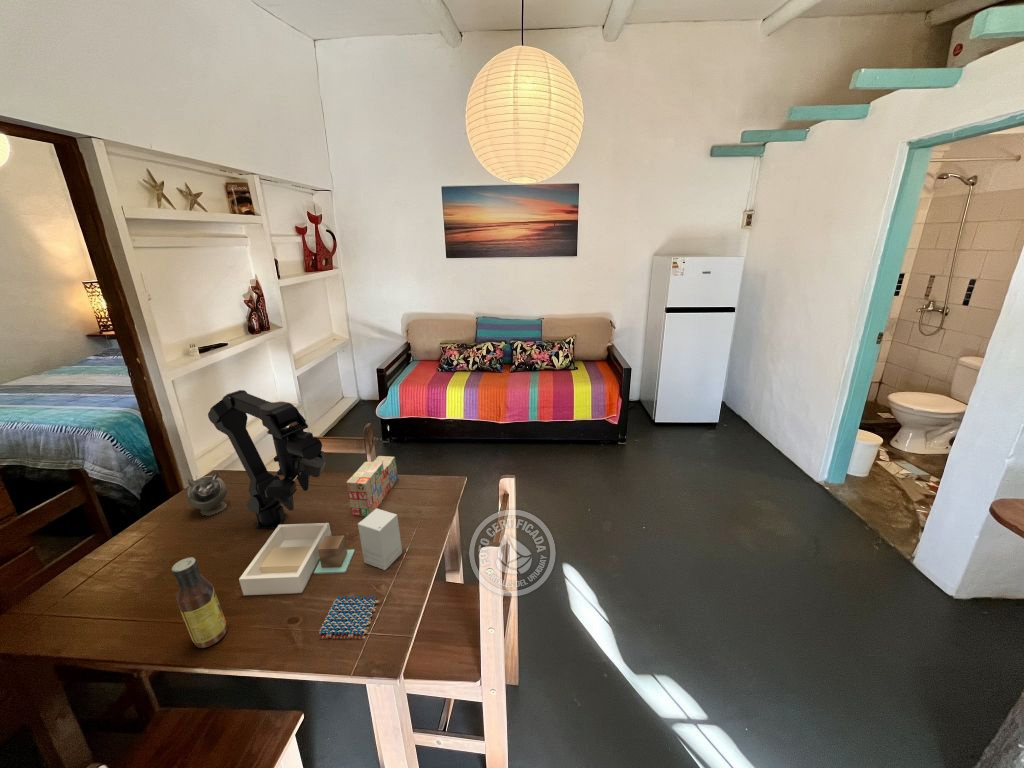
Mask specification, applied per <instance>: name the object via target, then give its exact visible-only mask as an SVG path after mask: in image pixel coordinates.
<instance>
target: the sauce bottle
mask: <svg viewBox="0 0 1024 768" xmlns="http://www.w3.org/2000/svg"><path fill="white" fill-rule="evenodd" d="M171 572H172V574H173V577H175V578H176V582H177V586H178V589H177V591H176V594H175V599H176V602H177V605H178V608H179V611H180V613H181V616H182V619H183V621H184V623H185V624H184V625H186V629H187V631H188V633H189V636H190V638H191V641H192V642H193V643H194V645H195V647H197V648H198V649H200V648H201V649H204V648H208V647H211V646H213V645H215V644H216V643H218V642H220V640H221V639H223V638H224V637H225V635H226V633H227V631H228V628H227V621H226V618H225V615H224V612H223V610H222V606H221V605H220V601H219V599H218V596H217V593H216V590H215V588H214V585H213V584H212V583H211V582H210V581H209V580H208V579H207V578H206V577H204V576H203V575H202V574H201V572H200V570H199V567H198V561H197V559H196V558H195V557H192V556H191V557H186V558H183V559H181V560H178V561H177V562H176V563H174V565H173V566H172V567H171Z"/></svg>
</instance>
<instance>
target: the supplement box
mask: <svg viewBox="0 0 1024 768" xmlns="http://www.w3.org/2000/svg"><path fill="white" fill-rule="evenodd" d="M399 526H400V525H399V518H398V514H397V513H393V512H389V511H387V510H383V509H380V508H378V507H377V508H376V509H375V510H374V511H373V512H371V513H370V514H369V515H368V516H365V517H364V518H363V519H362V520H360V521H359V522H358V523H357V527H358V532H359V533H358V535H359V539H360V544H361V551H362V556H363V562H364V564H367V565H370V566H372V567H375V568H378V569H380V570H384V571H386V570H387V569H388V568H389V567H390V566H391V565H392V564H393V563H394V562H396V560H397V559H398V558H399V557H400V556H401V554H402V553H403V550H402V549H403V548H402V540H401V532H400V527H399Z"/></svg>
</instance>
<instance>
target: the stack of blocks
mask: <svg viewBox="0 0 1024 768" xmlns="http://www.w3.org/2000/svg"><path fill="white" fill-rule="evenodd" d="M398 480H399V477H398V470H397V464H396V457H395V456H384V455H378V456H377V457H376V458H375V459H374V461H364V462H363V463H362V465H361V466H360V467H359V468H358V469H357V470H356V471H355V472H354V473H353V474H352V476H351V477H350V478H348V479H347V481H346V488H347V495H348V496H347V497H348V501H349V505H350V512H351V515H352V516H356V517H357V516H358V517H367V516H368V515H369V514H370V513H371V512H373V511H374V510H375V509H376V508H377V509H378V507H379V505H381V503H382V502H383V501H382V500H384V499H385V498H386V496H387V495H388V494H389V492H390V490H391V489H392V488H393V487H394V486H395V484H396V483H397V482H398ZM388 491H389V492H388Z"/></svg>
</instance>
